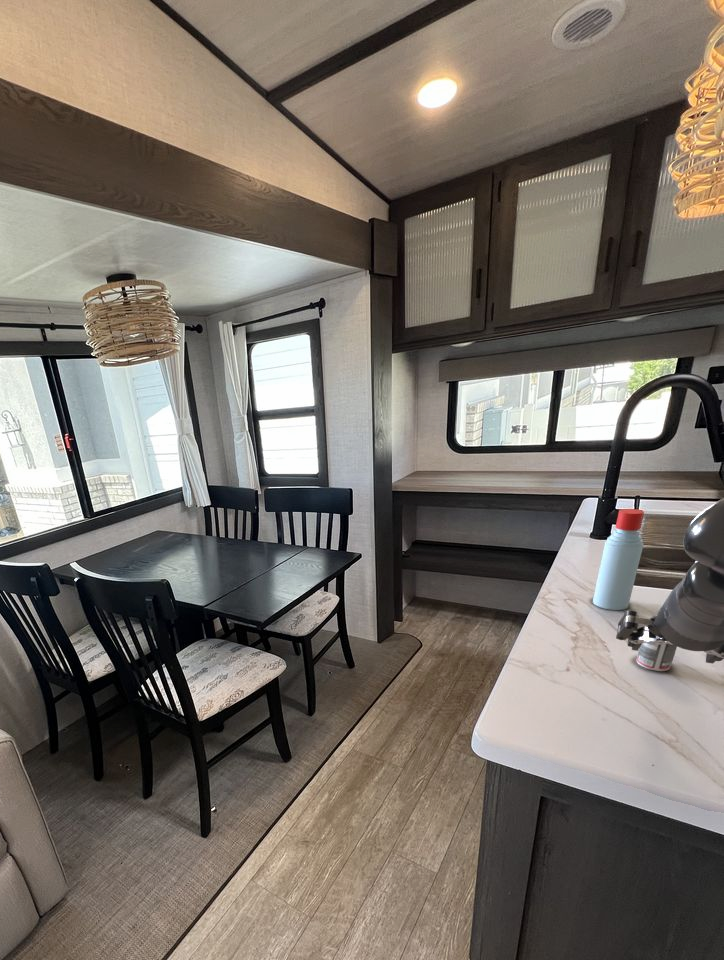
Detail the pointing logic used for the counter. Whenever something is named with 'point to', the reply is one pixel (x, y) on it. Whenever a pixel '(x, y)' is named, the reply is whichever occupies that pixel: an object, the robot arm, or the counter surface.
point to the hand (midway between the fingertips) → (670, 650)
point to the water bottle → (618, 569)
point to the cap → (629, 519)
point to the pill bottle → (656, 656)
